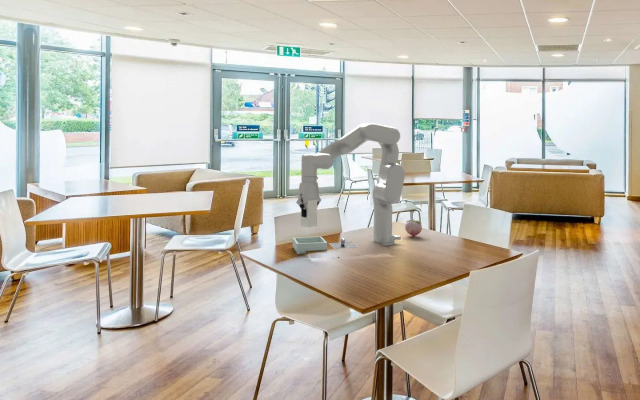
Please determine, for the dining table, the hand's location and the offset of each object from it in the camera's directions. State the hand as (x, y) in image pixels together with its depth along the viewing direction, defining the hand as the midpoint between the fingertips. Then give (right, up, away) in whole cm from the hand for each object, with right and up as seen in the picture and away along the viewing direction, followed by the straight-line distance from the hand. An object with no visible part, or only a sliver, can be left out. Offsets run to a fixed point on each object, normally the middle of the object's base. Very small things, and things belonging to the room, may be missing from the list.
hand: (308, 215), depth 246 cm
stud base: (+17, -16, +6) cm, 24 cm away
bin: (0, -17, +2) cm, 17 cm away
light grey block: (0, -5, +1) cm, 5 cm away
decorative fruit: (+58, -13, +35) cm, 69 cm away
